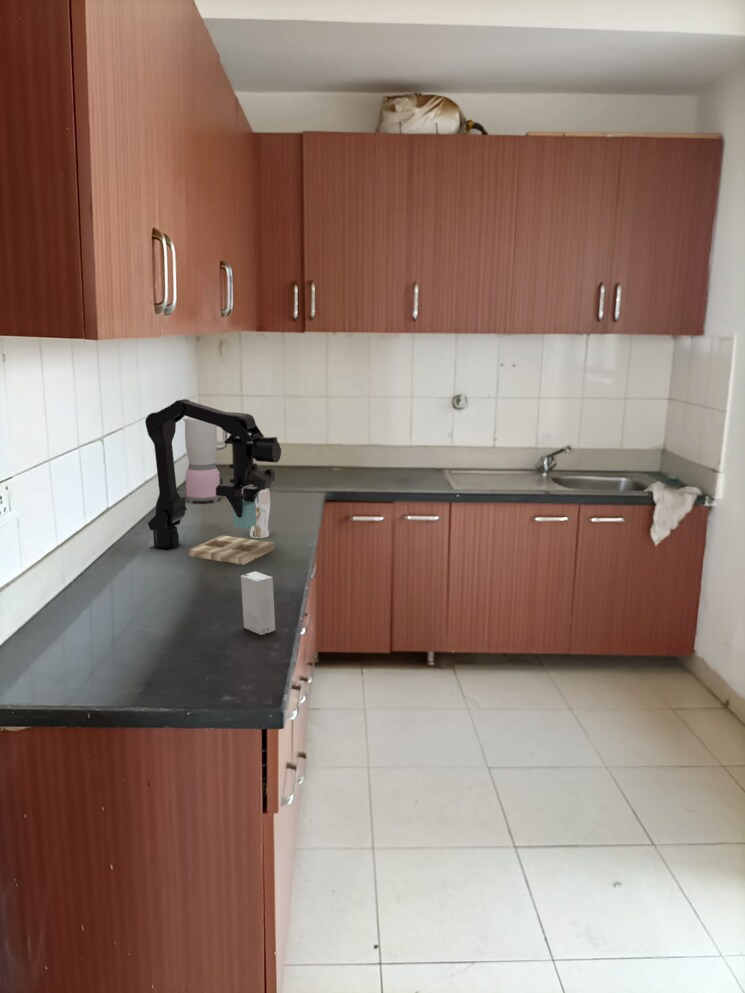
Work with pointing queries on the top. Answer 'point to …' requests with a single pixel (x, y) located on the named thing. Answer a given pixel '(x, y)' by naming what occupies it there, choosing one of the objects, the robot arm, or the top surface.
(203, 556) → the pocket board
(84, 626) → the top surface
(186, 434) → the blender
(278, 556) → the top surface
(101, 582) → the top surface
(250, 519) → the teal block
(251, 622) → the skincare box
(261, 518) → the beer glass
